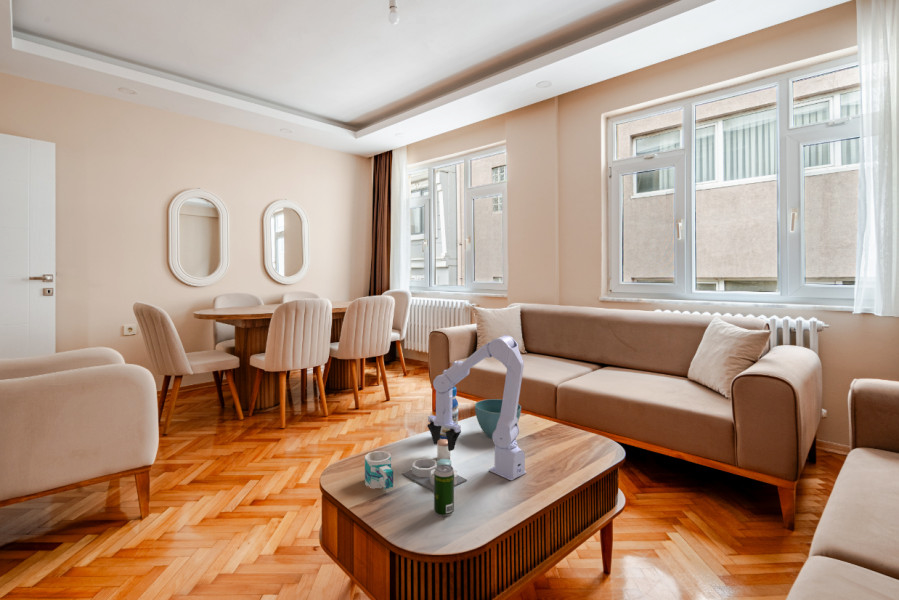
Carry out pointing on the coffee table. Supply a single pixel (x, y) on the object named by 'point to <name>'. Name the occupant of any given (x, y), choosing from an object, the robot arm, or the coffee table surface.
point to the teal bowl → (490, 414)
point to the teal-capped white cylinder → (443, 462)
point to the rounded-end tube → (443, 449)
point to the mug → (378, 470)
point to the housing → (428, 473)
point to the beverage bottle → (454, 414)
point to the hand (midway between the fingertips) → (443, 446)
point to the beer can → (444, 490)
